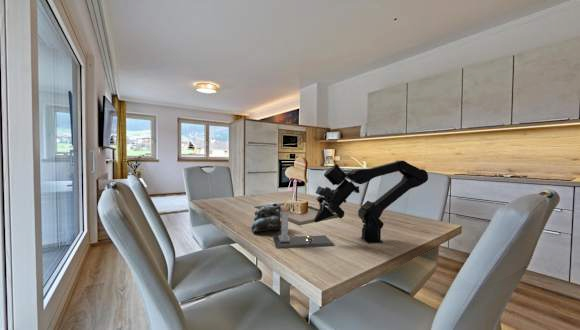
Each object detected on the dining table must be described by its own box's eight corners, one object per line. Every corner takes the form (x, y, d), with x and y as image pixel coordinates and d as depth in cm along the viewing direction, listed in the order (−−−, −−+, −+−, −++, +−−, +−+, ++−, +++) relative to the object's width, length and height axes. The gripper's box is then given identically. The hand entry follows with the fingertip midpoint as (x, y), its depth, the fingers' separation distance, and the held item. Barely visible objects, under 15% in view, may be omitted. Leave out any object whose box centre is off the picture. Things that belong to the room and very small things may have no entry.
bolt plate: (325, 237, 99) (325, 231, 99) (332, 245, 90) (332, 238, 90) (273, 239, 95) (273, 233, 95) (275, 248, 86) (275, 241, 86)
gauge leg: (288, 237, 94) (288, 207, 94) (290, 241, 89) (290, 209, 89) (278, 238, 93) (279, 207, 93) (279, 242, 89) (280, 210, 88)
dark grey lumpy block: (244, 233, 103) (246, 202, 109) (260, 237, 112) (261, 208, 118) (274, 227, 96) (273, 195, 103) (288, 232, 106) (286, 202, 112)
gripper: (321, 177, 103) (296, 203, 101) (336, 181, 84) (306, 213, 83) (337, 195, 104) (313, 220, 103) (356, 202, 86) (327, 234, 84)
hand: (314, 221), depth 93 cm, fingers closed
